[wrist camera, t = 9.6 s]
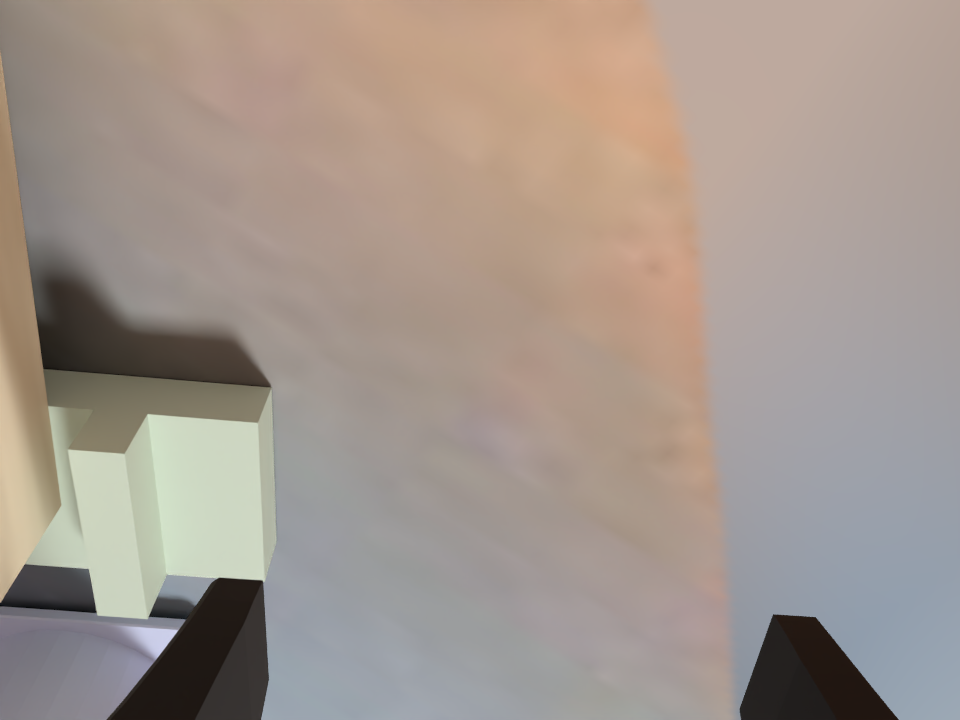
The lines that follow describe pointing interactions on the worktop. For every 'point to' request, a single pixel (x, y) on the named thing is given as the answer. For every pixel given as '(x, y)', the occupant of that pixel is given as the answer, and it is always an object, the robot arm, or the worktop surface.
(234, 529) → the stand
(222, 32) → the worktop surface
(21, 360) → the bar
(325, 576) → the worktop surface
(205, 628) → the robot arm
